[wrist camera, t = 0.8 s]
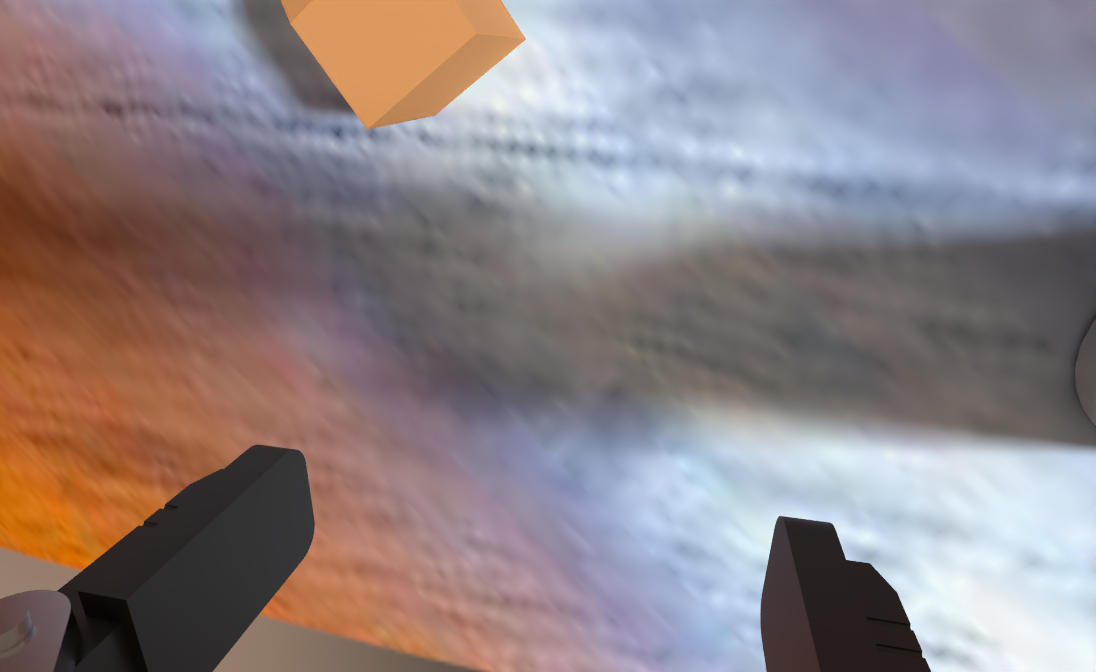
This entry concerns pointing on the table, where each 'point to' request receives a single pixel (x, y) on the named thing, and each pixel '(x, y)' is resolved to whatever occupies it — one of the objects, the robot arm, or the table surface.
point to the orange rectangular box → (403, 50)
